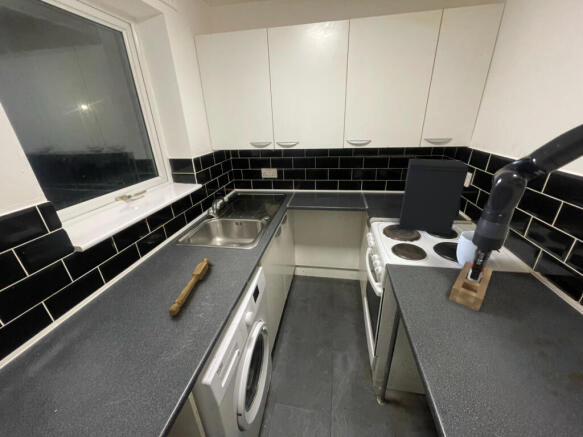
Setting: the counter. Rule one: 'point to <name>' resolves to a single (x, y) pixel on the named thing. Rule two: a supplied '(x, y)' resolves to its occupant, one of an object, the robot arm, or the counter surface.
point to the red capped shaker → (479, 275)
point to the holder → (470, 288)
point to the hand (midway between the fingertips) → (474, 275)
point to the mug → (466, 248)
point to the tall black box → (432, 195)
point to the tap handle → (189, 286)
